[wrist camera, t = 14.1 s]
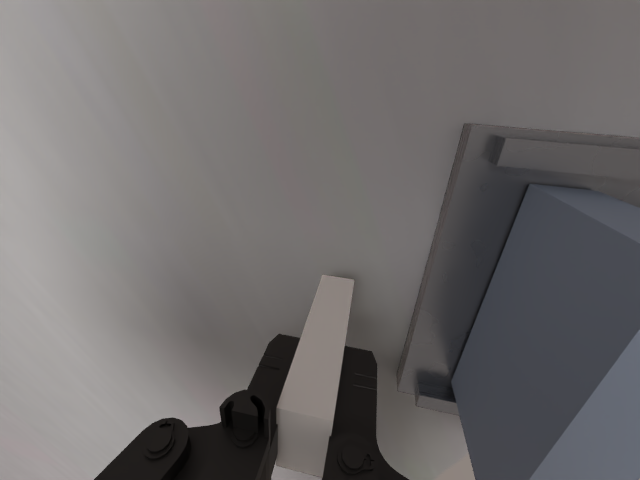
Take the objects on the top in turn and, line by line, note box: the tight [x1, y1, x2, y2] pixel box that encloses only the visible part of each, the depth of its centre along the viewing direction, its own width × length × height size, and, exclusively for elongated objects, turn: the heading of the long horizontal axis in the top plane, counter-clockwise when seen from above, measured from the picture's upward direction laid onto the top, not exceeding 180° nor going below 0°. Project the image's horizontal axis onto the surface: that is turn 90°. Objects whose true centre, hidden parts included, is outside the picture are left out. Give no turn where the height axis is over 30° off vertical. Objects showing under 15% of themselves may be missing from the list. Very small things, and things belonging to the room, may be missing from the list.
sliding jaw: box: [451, 184, 640, 480], centre depth 11 cm, size 12×2×7 cm, turn 176°
